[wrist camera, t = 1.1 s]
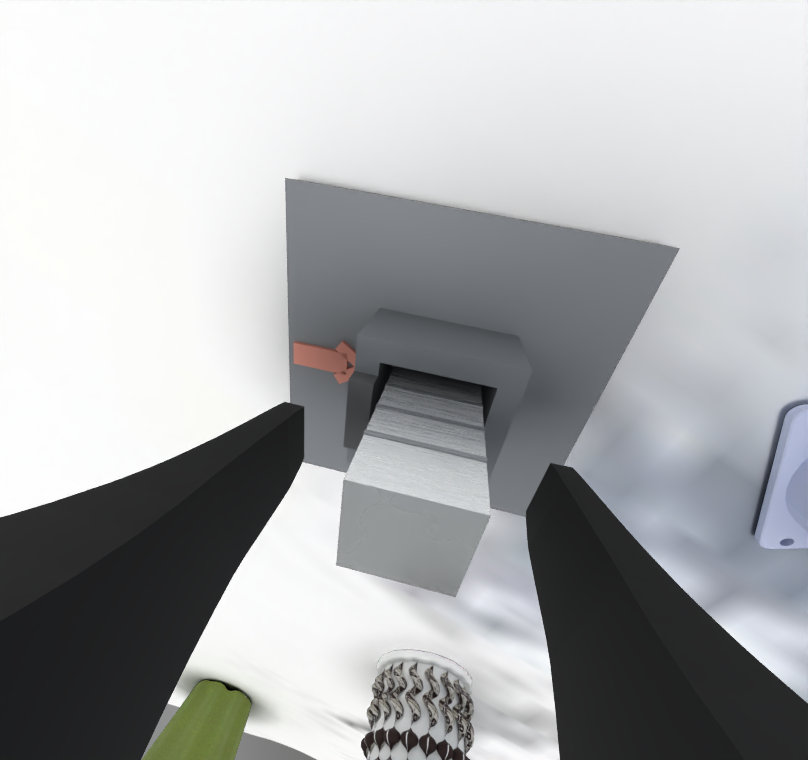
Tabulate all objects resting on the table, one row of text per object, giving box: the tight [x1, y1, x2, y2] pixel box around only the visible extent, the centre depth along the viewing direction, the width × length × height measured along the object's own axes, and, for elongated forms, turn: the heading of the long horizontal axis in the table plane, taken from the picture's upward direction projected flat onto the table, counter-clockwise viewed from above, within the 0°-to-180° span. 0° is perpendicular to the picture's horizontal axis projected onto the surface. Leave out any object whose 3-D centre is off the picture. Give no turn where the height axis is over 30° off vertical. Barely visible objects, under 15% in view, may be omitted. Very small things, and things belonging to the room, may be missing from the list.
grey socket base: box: [285, 178, 680, 517], centre depth 13 cm, size 13×13×5 cm
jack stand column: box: [336, 366, 491, 597], centre depth 10 cm, size 3×3×7 cm
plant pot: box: [142, 680, 251, 760], centre depth 35 cm, size 12×12×11 cm
